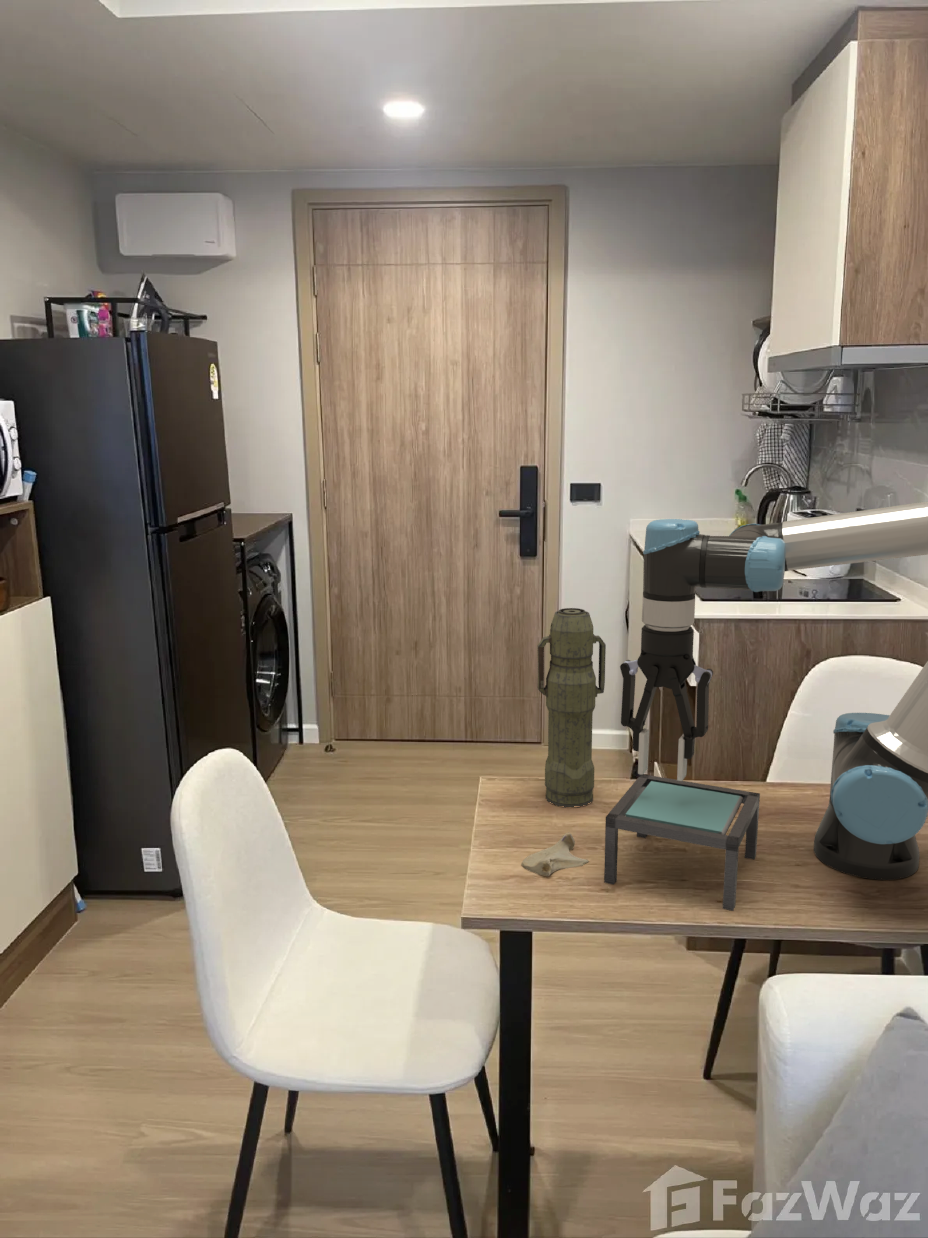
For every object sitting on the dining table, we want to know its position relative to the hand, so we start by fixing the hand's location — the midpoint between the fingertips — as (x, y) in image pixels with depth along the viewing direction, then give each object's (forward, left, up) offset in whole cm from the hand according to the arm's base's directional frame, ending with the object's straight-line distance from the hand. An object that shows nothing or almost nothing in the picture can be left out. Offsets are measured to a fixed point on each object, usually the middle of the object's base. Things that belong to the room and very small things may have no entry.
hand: (662, 774), depth 140 cm
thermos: (+21, -18, -15) cm, 32 cm away
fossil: (+14, +6, -15) cm, 22 cm away
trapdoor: (-4, 0, -5) cm, 6 cm away
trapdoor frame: (-4, 0, -15) cm, 15 cm away
